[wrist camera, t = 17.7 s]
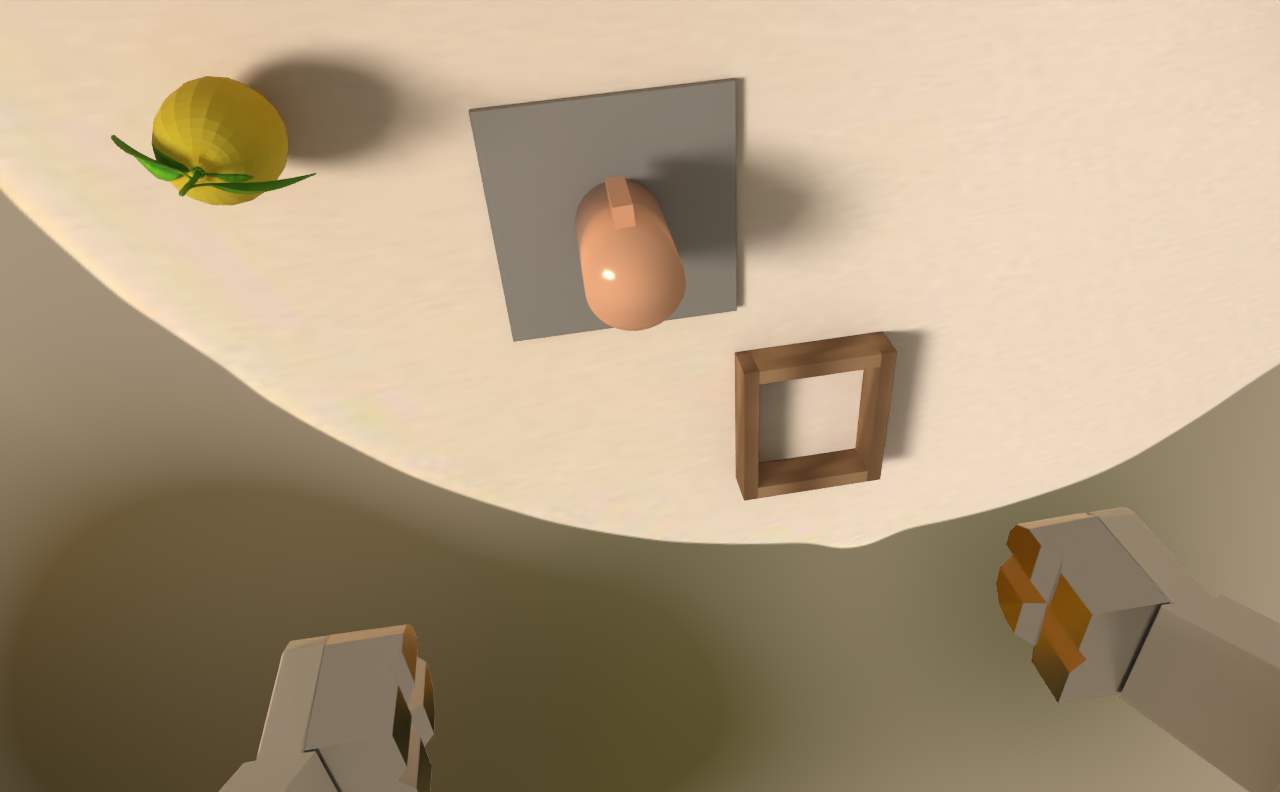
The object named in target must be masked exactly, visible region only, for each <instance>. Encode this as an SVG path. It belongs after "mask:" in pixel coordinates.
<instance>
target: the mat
mask: <svg viewBox="0 0 1280 792" xmlns="http://www.w3.org/2000/svg"><path fill="white" fill-rule="evenodd" d="M469 116H470V121H471V126H472V131H473V136H474V141H475V146H476V152H477V157H478V162H479V167H480V172H481V177H482V182H483V187H484V193H485V198H486V203H487V208H488V213H489V218H490V223H491V228H492V234H493V239H494V244H495V249H496V254H497V259H498V264H499V269H500V274H501V280H502V285H503V290H504V295H505V300H506V305H507V310H508V315H509V321H510V326H511V331H512V336H513V341H522V340H529V339H536V338H543V337H550V336H558V335H565V334H572V333H579V332H586V331H593V330H601V329H608V328H614V327H612V326H610V325H608V324H606V323H604V322H603V321H601V320H600V319H599V318H598V317H597V316H596V315H595V314H594V313H593V311H592V310H591V308H590V307H589V304H588V302H587V299H586V295H585V288H584V281H583V275H582V268H581V261H580V255H579V248H578V241H577V235H576V227H575V217H576V212H577V209H578V206H579V204H580V202H581V200H582V199H583V197H584V196H585V195H586V194H587V193H588V192H589V191H590V190H591V189H593V188H594V187H595V186H597V185H599V184H601V183H603V182H605V178H610V177H616V176H622V175H624V177H625V180H631V181H634V182H637V183H639V184H642V185H643V186H645V187H646V188H647V189H649V190H650V191H651V192H652V193H653V194H654V196H655V197H656V199H657V200H658V202H659V204H660V207H661V210H662V212H663V215H664V218H665V220H666V223H667V226H668V228H669V231H670V234H671V236H672V239H673V242H674V244H675V247H676V250H677V252H678V255H679V258H680V260H681V263H682V266H683V268H684V271H685V276H686V288H685V293H684V296H683V299H682V301H681V303H680V305H679V307H678V308H677V309H676V311H675V312H674V313H673V314H672V315H671V316H670V317H669V318H667V319H666V320H672V319H679V318H687V317H694V316H701V315H708V314H715V313H722V312H730V311H737V282H736V81H735V80H734V79H733V78H732V79H723V80H715V81H706V82H698V83H689V84H681V85H673V86H664V87H656V88H647V89H639V90H630V91H622V92H614V93H605V94H597V95H588V96H580V97H572V98H563V99H555V100H546V101H538V102H529V103H521V104H513V105H504V106H496V107H487V108H479V109H470V110H469Z"/></svg>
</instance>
